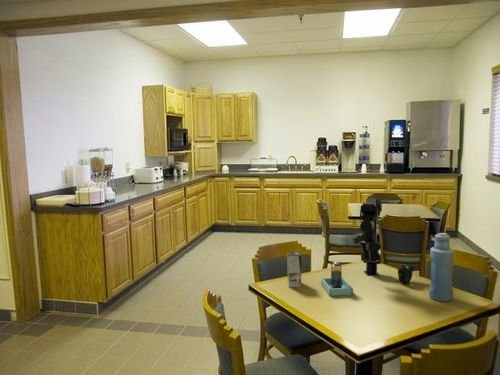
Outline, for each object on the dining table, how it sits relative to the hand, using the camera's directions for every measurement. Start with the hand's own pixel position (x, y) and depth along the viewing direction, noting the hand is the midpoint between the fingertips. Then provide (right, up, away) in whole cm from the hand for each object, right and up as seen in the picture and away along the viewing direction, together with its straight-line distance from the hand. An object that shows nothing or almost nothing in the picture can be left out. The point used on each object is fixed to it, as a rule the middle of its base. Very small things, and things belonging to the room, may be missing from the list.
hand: (368, 258), depth 200 cm
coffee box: (-37, -14, +2) cm, 39 cm away
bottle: (+27, -15, -19) cm, 37 cm away
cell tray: (-17, -14, -7) cm, 23 cm away
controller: (+20, -13, +3) cm, 24 cm away
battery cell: (-17, -13, -7) cm, 23 cm away
